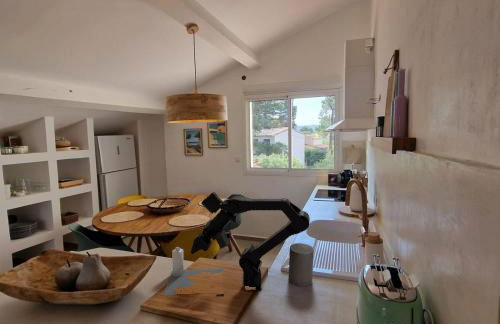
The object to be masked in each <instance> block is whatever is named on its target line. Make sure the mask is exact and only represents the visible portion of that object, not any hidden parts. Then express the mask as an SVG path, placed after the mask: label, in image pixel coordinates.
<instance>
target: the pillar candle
mask: <svg viewBox="0 0 500 324" xmlns="http://www.w3.org/2000/svg"><path fill="white" fill-rule="evenodd" d="M314 250H315V249H314V246H312V245H310V244H307V243H302V242H301V243H300V242H298V243H297V242H296V243H292V244H291V245H290V246H289V254H288V255H289V258H288V259H289V262H288V264H289V266H288V281H289V282H290V283H291V284H293V285H294V286H298V287H307V286H310V285H311V284H312V283H313V276H314V274H313V272H314V252H315V251H314Z"/></svg>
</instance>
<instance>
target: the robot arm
mask: <svg viewBox="0 0 500 324" xmlns="http://www.w3.org/2000/svg"><path fill="white" fill-rule="evenodd" d="M200 204H201V206H202V207H204V209H206V210H207V211H208V213H210V214H215V216H213V217H212V218H211V219H209V220H208V222H206V224H205V225H204V226H203V229H202V232H199V233H198V234H197V235H196V236H195V238H194V239H193V243H192V246H191V249H190V254H191V255H194V254H195V253H197V252H199V251H200V250H202V251H203V252H207V251H208V250H209V249H210V248H211V246H212V243H213V242H212V240H213V241H216V243H217V244H218V248H220V250H222V249H223V248H226V247H228V246H229V245H230V244H231V243H230V242H231V241H230V240H231V239H230V238H231V236H232V234H231V232H230V231H225V230H224V229H225V228H226V227H227V226H228V224H230V223H231V221H232V222H233V223H235V224H236V223H237V222H238V220H239V214H243V213H246V212H249V211H250V212H251V211H280V212H282V213H283V214H284V215H285V217H286V218H287V219H288V221H287V222H286V224H285V225H283V226H282V227H281V228H280V229H279V230H277V231H275V232H274V233H273V234H271V235H270V236H269V237H267V238H266V239H265V240H263V241H262V242H261V243H259V244H258V245H254V244H253V243H251V244H250V245H249V246H248V247H245V248H244V250H243V251H242V253H241V254H240V258H239V259H238V265H239V267H240V268H241V269H242V272H243V273H242V286H243V285H244V286H249V287H256V290H255V291H262V290H263V287H262V271H261V267H262V264H263V261H262V260H261V259H262V257H263V256H265V255H266V254H268V253H270V252H271V251H272V250H273V249H274V248H275V247H276V248H277V246H279V245H280V244H281V243H283V242H284V241H286V240H287V239H289V238H290V237H291V236H295V235H298V234H301V233H303V232H305V231H307V230H308V229H309V227H310V221H311V218H310V217H311V216H310V214H309V213H308V212H307V211H305V210H302V209H300V208H299V206H297V205H296V204H294V203H293V202H291V201H290V200H289V198H287V197H282V198H250V197H247V196H241V195H234V196H233V197H231V198H227V199H224V200H222V198H221V197H219V196H218V194H217V193H216V192H215V191H212V192H211V193H210V194H209V195H208V196H207V197H205V198H204V199H203V200H202V201H201V203H200ZM216 213H217V214H216ZM244 286H243V287H244Z"/></svg>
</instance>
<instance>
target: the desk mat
mask: <svg viewBox="0 0 500 324" xmlns="http://www.w3.org/2000/svg"><path fill="white" fill-rule="evenodd" d="M203 271H204V272H205V273H206V272H207V273H208V272H209V273H210V272H211V274H212V273H213V274H214V273H220V272H223V271H224V272H225V268H210V269H209V268H208V269H207V268H206V269H184V274H183V275H182V276H179V277H175V276H173V270H171V273H170V276H169V278H168V281H167V283H166V286H165V289H164V291H163V294H165V295H164V296H168V295H169V296H180V295H179V294H178V295H177V294H175V293H176V291H175V290H174V288H177V289H178V290H179V286H181V287H182V288H183V287H188V286H192V284H191V282H195V281H193V280H192V281H190V280H189V279H188V278H183V277H188V276H191V275H193V274H194V276H195V274H200V272H201V273H202V272H203ZM196 284H197V283H196ZM193 285H194V286H195V284H194V283H193ZM185 290H186V289H185ZM185 290H184V291H185ZM181 291H182V290H181ZM181 291H180V292H181Z"/></svg>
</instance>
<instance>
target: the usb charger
mask: <svg viewBox="0 0 500 324" xmlns="http://www.w3.org/2000/svg"><path fill="white" fill-rule="evenodd" d="M171 253H172V259H171V260H172V263H171V264H172V271H173V276H175V277H179V276H182V275H183V274H184V270H185V269H184V249H183V248H181V247H179V246H176V247H175V248H174V249H172V250H171Z"/></svg>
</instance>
